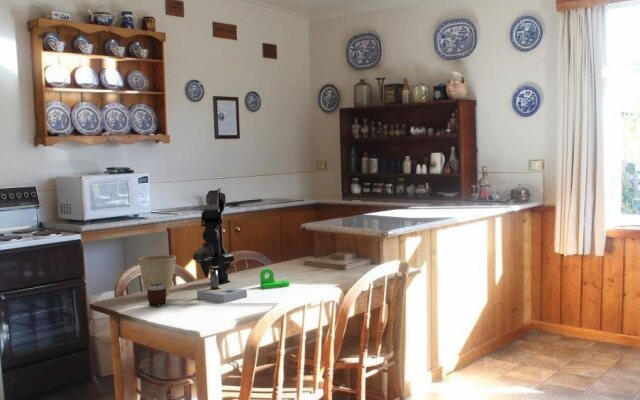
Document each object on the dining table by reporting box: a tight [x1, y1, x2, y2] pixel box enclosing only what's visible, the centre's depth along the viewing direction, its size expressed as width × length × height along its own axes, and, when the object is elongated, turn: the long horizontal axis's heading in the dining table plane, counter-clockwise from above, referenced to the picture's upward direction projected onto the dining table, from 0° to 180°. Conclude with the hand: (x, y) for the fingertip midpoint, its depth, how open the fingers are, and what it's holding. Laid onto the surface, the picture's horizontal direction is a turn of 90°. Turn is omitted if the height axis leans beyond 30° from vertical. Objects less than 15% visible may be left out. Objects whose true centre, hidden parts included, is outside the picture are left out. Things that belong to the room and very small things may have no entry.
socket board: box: [196, 285, 248, 304], centre depth 262 cm, size 16×12×3 cm
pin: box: [209, 270, 220, 290], centre depth 265 cm, size 3×3×10 cm
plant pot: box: [138, 254, 177, 297], centre depth 270 cm, size 15×15×16 cm
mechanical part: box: [259, 267, 290, 290], centre depth 282 cm, size 12×6×8 cm, turn 110°
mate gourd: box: [144, 266, 167, 308], centre depth 252 cm, size 8×8×15 cm
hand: (214, 278), depth 265 cm, fingers open, 9 cm apart
